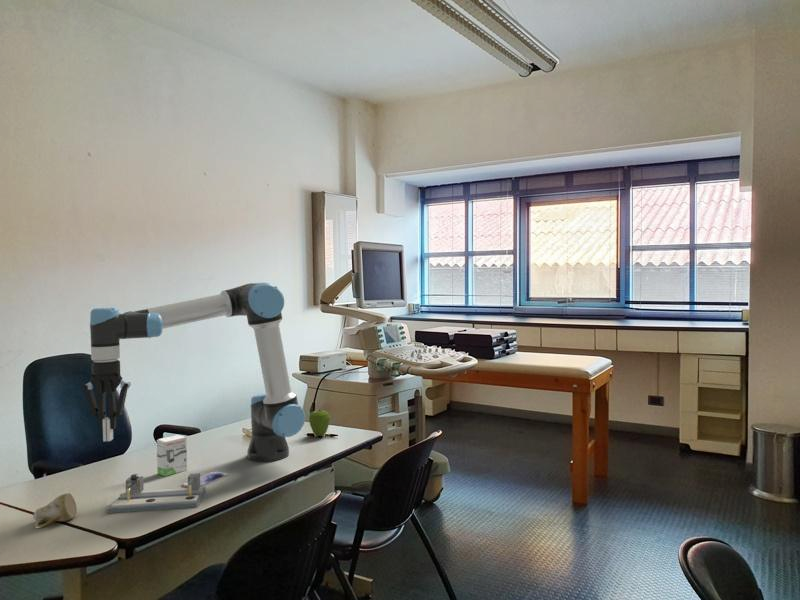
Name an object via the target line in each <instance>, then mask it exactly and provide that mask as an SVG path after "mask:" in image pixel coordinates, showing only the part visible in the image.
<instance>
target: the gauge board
mask: <svg viewBox="0 0 800 600" xmlns="http://www.w3.org/2000/svg"><path fill="white" fill-rule="evenodd" d="M200 476H201V473H189V475H188V476H187V482H188V488H186V487H181V488H169V489H168V488H166V489H151V490H143V491H142V492H141V493H138V494H130V501H127V494H126V491H121V492H120V493H119V497H117V499H116V500H115V501H114V502H113V503H112V504H110V506H109V507H108V508H107V513H108V514H115V513H117V514H118V513H128V512H130V513H131V512H144V511H146V512H147V511H159V510H160V511H161V510H174V509H176V510H177V509H188V508H189V509H190V508H197V507H198V505H199V504H200V502H201V500H202V499H203V497H204V495H205V494H206V492H207V490H206V486H203V487H200V486H201V485H200Z"/></svg>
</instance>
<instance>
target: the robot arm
mask: <svg viewBox="0 0 800 600" xmlns="http://www.w3.org/2000/svg"><path fill="white" fill-rule="evenodd" d="M284 307H285V296H284V294H283V292H282V291H281V289H280V288H279V287H277V286H276V285H274V284H271V283H268V282H258V283H257V282H255V283H254V282H253V283H252V282H251V283H246V284H243V285H240V286H236V287H234V288H229V289H225V290H221V292H220V293H219V294H215V295H209V296H205V297H200V298H195V299H190V300H183V301H180V302H175V303H174V302H173V303H169V304H164V305H160V306H159V305H158V306H155V307H150V308H146V309H139V310H134V311H126V312H123V313H120V312H119V309H118V308H117V307H99V308H98V307H97V308H96V307H95V308H93V309H91V310H90V317H89V318H90V320H89V329H90V354H91V355H90V358H91V360H92V362H91V363H90V364H91V378H90V381H89V382H87V383H86V384H83V385H81V389H82V390H83V391H84V393H85V395H86V399H87V402H88V406H89V410H90V413H91V417H92V418H97V419H98V422H99V425H98V426H99V427H98V428H99V430H102V440H103V441H102V442H111V441H113V439H114V429H116V427H117V417H119V416H121V415H122V414H123V412H124V409H125V408H124V407H125V403H126V399H127V393H128V390H129V389H130V387H131V382H127V381H125V380H123V377H122V375H121V361H120V360H119V359H120V358H121V355H120V354H121V351H120V349H121V348H120V340H126V339H127V340H129V339H146V338H147V339H148V338H149V339H151V338H156V337H157V338H159V337H160V336H162V334H163V329H167V328H172V327H178V326H181V325H186V324H190V323H195V322H199V321H205V320H209V319H214V318H219V317H223V316H225V317H227V318H231V317H239V316H246V318H247V319H246V321H247V324H248V327H251V328H252V329H253V331H254V337H255V341H256V342H255V343H256V346H257V353H258V356H259V357H258V358H259V362H260V369H261V373H262V379H263V383H264V389H265V393H264V394H263V393H262V394H261V393H260V394H256V395H254V396H252V397H251V399H250V417H251V418H250V419H251V420H250V421H251V422H250V423H251V437H250V441H249V445H248V448H247V456H246V457H247V460H250V461H255V462H271V461H273V462H274V461H278V460H283V459H285V458H287V457H289V456H290V448H289V447H290V446H289V444H288V442H287V439H286V438H290V437H294V436H295V435H297V434H299V432H300V431H302V428H303V427H304V425H305V422H306V414H305V411H304V408H302V407H301V405H299V403H298V397H297V393H296V392H295V391H293V390H292V388H291V383H290V379H289V373H288V368H287V362H286V357H285V351H284V345H283V341H282V339H283V338H282V336H281V335H282V334H281V328H280V323H281V322H282V320H283V314H282V311H283V309H284ZM119 386H120V387H119ZM118 387H119V388H120V391H119V396H118V400H117V398H116V393H117V389H118ZM93 389H95V390H96V391H97V398H98V399H97V400H96V396H95V392H94V390H93ZM106 398H107V399H108V416H107V412H106V411H107V408H106V407H107V405H106V404H107V399H106ZM116 400H117V402H116ZM97 402H98V403H97ZM116 403H117V404H116Z"/></svg>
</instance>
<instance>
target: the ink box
mask: <svg viewBox="0 0 800 600" xmlns="http://www.w3.org/2000/svg"><path fill="white" fill-rule="evenodd" d="M187 438H188V437H187V436H184V435H181V434H175V435H171V436H167V437H161V438H158V439H157V440H156V459H157V460H156V461H157V466H156V467H157V475H160V476H163V477H168V476H171V475H175V474H178V473H182V472H184V471H188V448H187V447H188V445H187V444H188V443H187V441H188V440H187Z"/></svg>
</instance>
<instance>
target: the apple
mask: <svg viewBox="0 0 800 600" xmlns="http://www.w3.org/2000/svg"><path fill="white" fill-rule="evenodd" d="M309 414H310V415H309V418H308V419H309V420H308V421H309V426H310V428H311V431H312V433H313V434H314V435H315V436H316V437H318V436H322V437H324V436H325V435H326V433H327V431H328V429H329V425H330V420H331V419H330V418H331V416H330V414H329V412H328V411H327V410H324V409H316V410H313V411H312V412H311V413H309ZM323 435H324V436H323Z"/></svg>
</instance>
